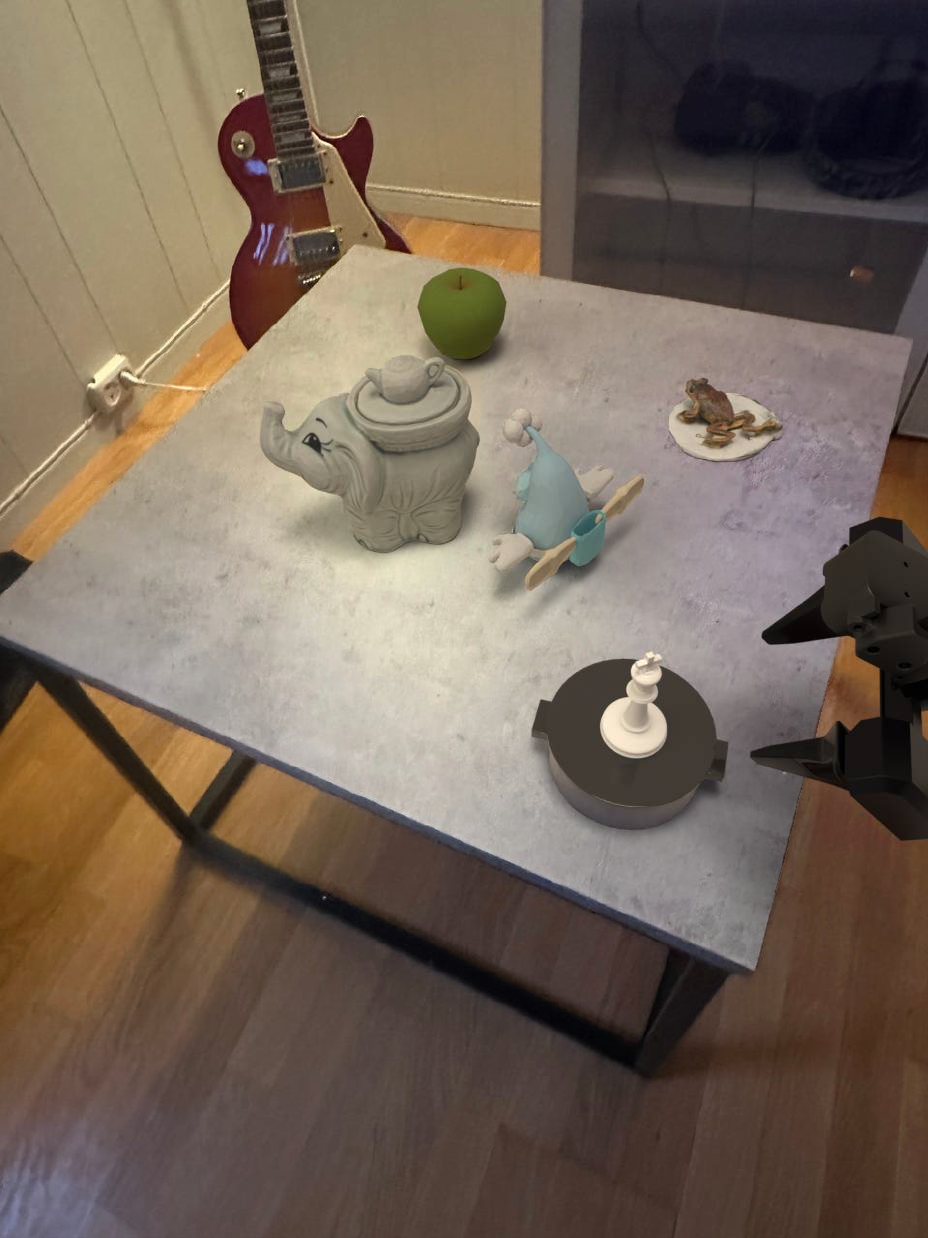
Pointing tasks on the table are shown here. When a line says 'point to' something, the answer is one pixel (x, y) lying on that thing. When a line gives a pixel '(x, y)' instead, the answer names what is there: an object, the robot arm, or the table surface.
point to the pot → (614, 781)
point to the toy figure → (555, 507)
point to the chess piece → (637, 713)
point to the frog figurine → (721, 424)
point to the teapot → (386, 451)
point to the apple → (462, 312)
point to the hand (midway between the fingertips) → (759, 695)
